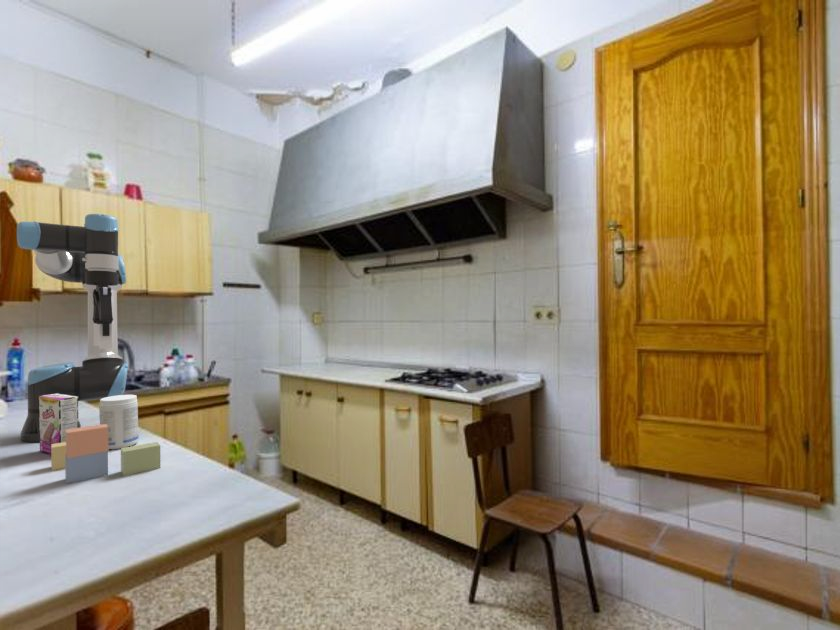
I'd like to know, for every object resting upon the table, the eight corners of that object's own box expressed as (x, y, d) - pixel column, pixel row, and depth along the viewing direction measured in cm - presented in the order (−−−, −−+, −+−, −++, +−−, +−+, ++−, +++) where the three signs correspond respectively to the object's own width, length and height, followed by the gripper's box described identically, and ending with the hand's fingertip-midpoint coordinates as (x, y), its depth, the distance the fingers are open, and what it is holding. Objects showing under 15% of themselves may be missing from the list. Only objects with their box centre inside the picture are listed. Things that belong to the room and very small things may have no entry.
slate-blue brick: (66, 483, 102) (66, 458, 102) (65, 478, 105) (65, 454, 105) (107, 475, 107) (107, 451, 107) (105, 470, 110) (105, 447, 110)
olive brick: (123, 476, 107) (123, 451, 107) (120, 471, 110) (120, 448, 110) (160, 468, 112) (160, 445, 112) (157, 464, 115) (157, 441, 115)
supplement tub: (136, 439, 138) (136, 393, 138) (140, 446, 131) (140, 397, 131) (98, 445, 132) (98, 396, 132) (100, 452, 125) (100, 401, 125)
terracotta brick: (66, 458, 102) (66, 433, 102) (65, 454, 105) (65, 429, 105) (108, 451, 107) (108, 426, 107) (106, 447, 110) (106, 423, 110)
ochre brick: (51, 471, 110) (51, 447, 110) (51, 467, 113) (51, 444, 113) (91, 463, 116) (91, 441, 116) (89, 460, 119) (89, 438, 119)
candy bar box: (38, 452, 125) (37, 395, 125) (58, 447, 130) (58, 392, 130) (59, 457, 121) (59, 398, 121) (79, 452, 125) (79, 395, 125)
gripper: (81, 273, 127) (81, 345, 127) (89, 266, 109) (90, 350, 109) (112, 274, 132) (112, 344, 132) (125, 268, 114) (125, 348, 114)
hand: (102, 347), depth 121 cm, fingers open, 13 cm apart
